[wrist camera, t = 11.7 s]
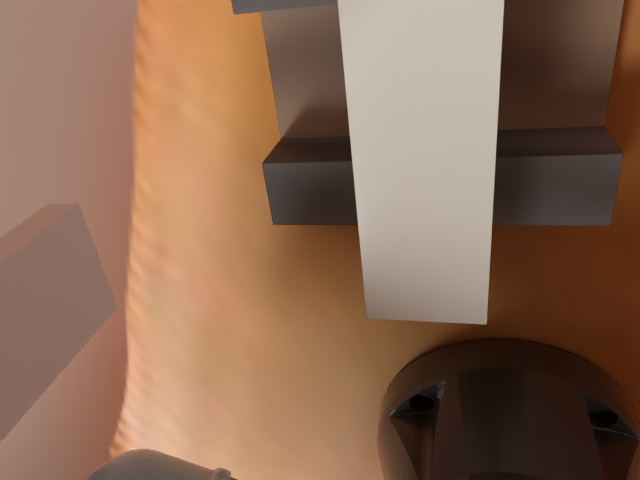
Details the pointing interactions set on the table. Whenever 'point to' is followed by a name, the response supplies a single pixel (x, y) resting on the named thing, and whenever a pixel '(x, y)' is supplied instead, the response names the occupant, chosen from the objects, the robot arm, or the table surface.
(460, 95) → the clay strip
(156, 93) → the table surface
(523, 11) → the dark grey rimmed tray
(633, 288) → the table surface
